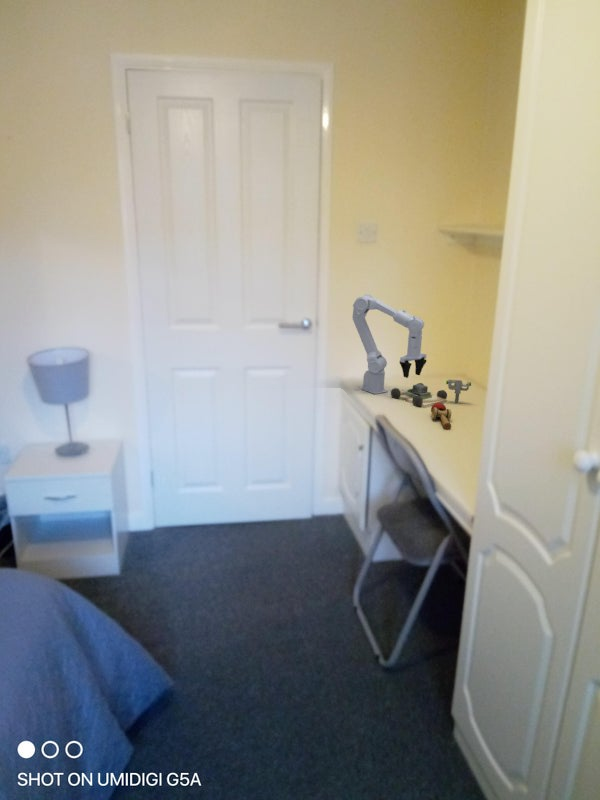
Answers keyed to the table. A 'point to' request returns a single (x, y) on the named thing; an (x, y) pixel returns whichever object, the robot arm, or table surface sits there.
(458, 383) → the mechanical component
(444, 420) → the kendama
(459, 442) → the table surface
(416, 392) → the block
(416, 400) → the chassis
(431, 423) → the table surface
